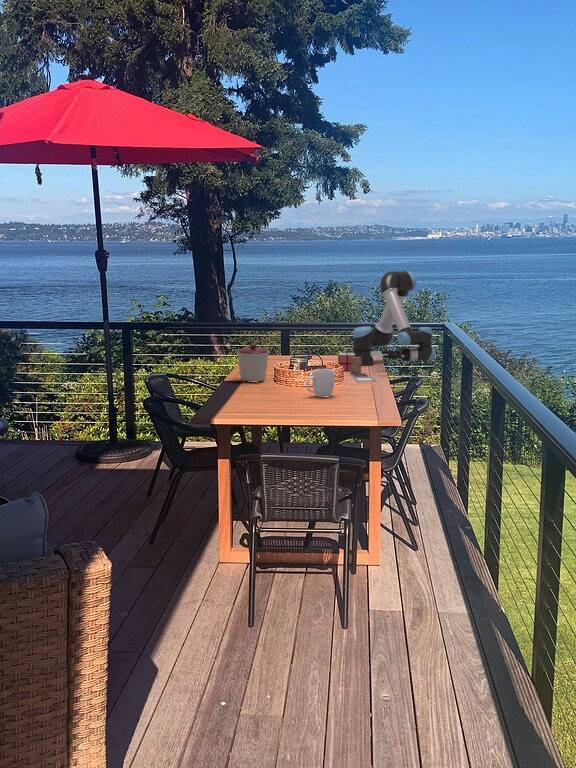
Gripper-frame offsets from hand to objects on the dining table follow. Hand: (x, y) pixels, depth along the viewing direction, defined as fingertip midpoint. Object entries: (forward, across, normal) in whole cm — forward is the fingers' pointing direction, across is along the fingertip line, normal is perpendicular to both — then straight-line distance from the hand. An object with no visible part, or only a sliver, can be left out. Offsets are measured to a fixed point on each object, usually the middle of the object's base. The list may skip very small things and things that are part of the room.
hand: (373, 355), depth 465 cm
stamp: (+10, +1, -11) cm, 15 cm away
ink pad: (+10, -8, -11) cm, 17 cm away
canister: (+72, -14, -11) cm, 75 cm away
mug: (+44, -61, -12) cm, 76 cm away
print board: (+10, -19, -12) cm, 25 cm away
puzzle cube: (+12, +16, -11) cm, 23 cm away
